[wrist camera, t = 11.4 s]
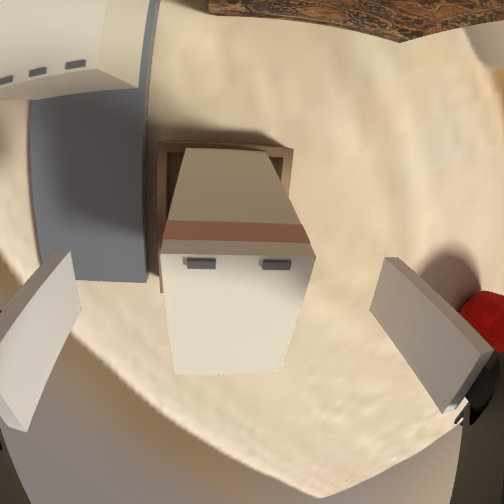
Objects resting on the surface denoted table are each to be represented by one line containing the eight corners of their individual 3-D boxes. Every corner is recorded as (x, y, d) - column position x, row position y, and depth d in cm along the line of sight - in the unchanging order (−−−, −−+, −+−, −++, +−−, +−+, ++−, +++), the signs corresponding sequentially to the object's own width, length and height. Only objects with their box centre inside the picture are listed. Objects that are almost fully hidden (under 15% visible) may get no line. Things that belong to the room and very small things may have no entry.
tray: (162, 141, 20) (157, 142, 18) (285, 146, 21) (293, 149, 19) (163, 279, 24) (160, 292, 22) (271, 280, 25) (276, 294, 23)
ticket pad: (47, 14, 13) (-16, -19, 5) (151, -4, 14) (123, -66, 6) (35, 100, 16) (-42, 99, 8) (139, 88, 17) (94, 66, 9)
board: (52, 8, 14) (45, 4, 13) (161, -9, 15) (159, -15, 14) (51, 271, 22) (45, 278, 21) (148, 275, 24) (146, 282, 22)
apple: (461, 270, 28) (527, 323, 18) (500, 278, 30) (555, 321, 20) (426, 343, 32) (474, 404, 22) (469, 341, 34) (513, 389, 24)
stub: (185, 147, 18) (158, 255, 9) (266, 151, 19) (318, 259, 10) (185, 241, 22) (174, 377, 13) (253, 243, 23) (281, 375, 14)
